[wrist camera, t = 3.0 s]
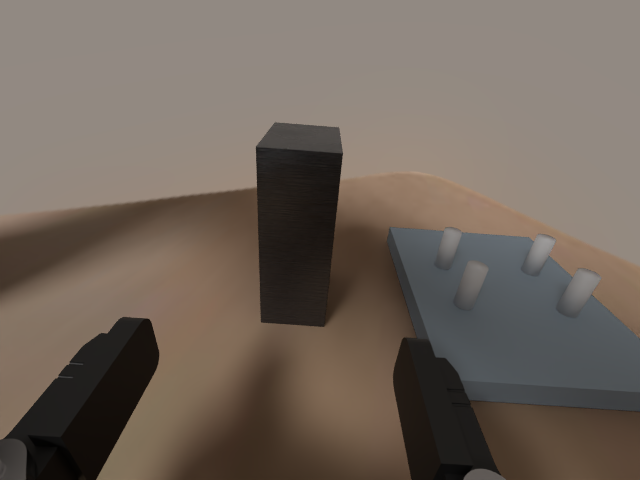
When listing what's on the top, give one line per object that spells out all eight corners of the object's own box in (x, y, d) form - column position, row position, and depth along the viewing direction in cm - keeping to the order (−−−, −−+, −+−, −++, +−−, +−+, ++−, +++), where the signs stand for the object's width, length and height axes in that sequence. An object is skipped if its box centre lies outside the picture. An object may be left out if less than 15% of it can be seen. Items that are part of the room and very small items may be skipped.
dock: (435, 397, 17) (461, 335, 14) (386, 241, 30) (396, 196, 28) (683, 414, 17) (747, 355, 14) (522, 251, 31) (542, 207, 28)
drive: (260, 322, 20) (256, 146, 15) (274, 267, 26) (275, 122, 20) (324, 326, 20) (342, 153, 15) (325, 270, 26) (339, 127, 20)
